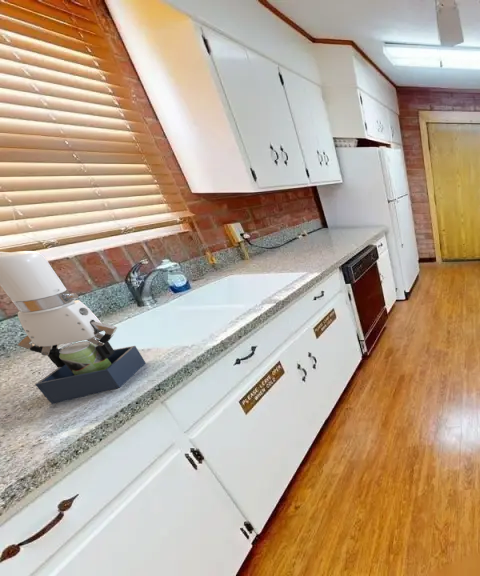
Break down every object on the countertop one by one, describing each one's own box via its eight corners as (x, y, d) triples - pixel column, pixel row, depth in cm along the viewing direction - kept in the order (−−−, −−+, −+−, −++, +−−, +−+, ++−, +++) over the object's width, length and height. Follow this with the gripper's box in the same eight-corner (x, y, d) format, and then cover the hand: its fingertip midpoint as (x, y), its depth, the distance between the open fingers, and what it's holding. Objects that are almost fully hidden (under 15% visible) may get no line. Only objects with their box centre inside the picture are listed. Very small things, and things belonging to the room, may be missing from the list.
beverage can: (116, 370, 86) (92, 335, 81) (122, 378, 83) (96, 342, 78) (81, 383, 81) (53, 347, 76) (85, 392, 78) (55, 355, 73)
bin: (51, 404, 75) (34, 384, 72) (87, 375, 85) (73, 356, 82) (120, 389, 80) (107, 370, 77) (146, 363, 90) (135, 345, 87)
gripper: (107, 289, 78) (141, 344, 86) (3, 302, 71) (49, 361, 78) (86, 301, 72) (124, 359, 80) (-30, 316, 65) (23, 378, 72)
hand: (87, 359), depth 79 cm, fingers open, 7 cm apart
